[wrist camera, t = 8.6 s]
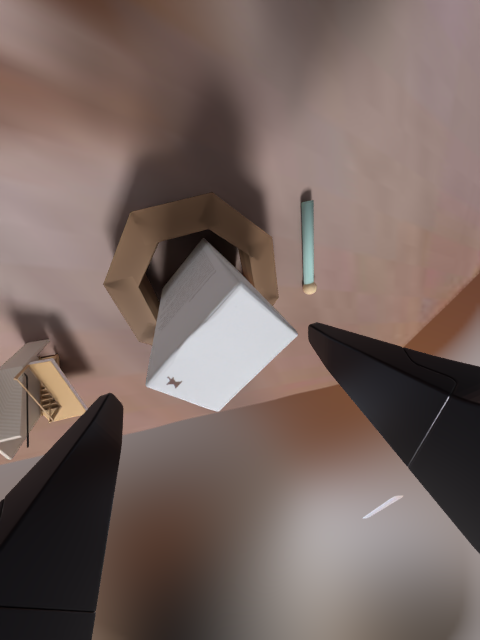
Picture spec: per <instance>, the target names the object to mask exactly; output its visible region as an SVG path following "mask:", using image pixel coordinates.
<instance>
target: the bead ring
mask: <svg viewBox="0 0 480 640" xmlns="http://www.w3.org/2000/svg"><path fill="white" fill-rule="evenodd" d="M207 229H209V230H211V231H212V232H214V233H216V234H217V235H219V236H220V237H222V238H223V239H225V240H226V241H228V242H229V243H231V244H232V245H234V246H236V247H237V248H238V250H239V255H240V260H241V265H242V270H243V274H244V277H245V278H246V279H247V280H248V281H249V282H250V283H251V284H252V286H253V287H254V288H255V289H256V290H257V291H258V292H259V293H260V294H261V295H262V296H263V297H264V298H265V299H266V300H267V301H268V302H269V303H270V304H271V305H272V306H273V305H274V303H275V302H276V301H277V299H278V298H279V296H278V287H277V278H276V269H275V260H274V250H273V241H272V237H271V236H270V235H268V234H267V233H266V232H264V231H263V230H262V229H260V228H259V227H258V226H256V225H255V224H254V223H252V222H251V221H250V220H248V219H247V218H246V217H244V216H243V215H242V214H240V213H239V212H238V211H236V210H235V209H234V208H232V207H231V206H230V205H228V204H227V203H226V202H224V201H223V200H222V199H221V198H219V197H218V196H217V195H215V194H214V193H213V192H211V193H207V194H203V195H198V196H194V197H190V198H186V199H182V200H178V201H174V202H170V203H165V204H161V205H157V206H153V207H149V208H145V209H141V210H137V211H132V212H130V214H129V217H128V220H127V222H126V225H125V228H124V230H123V233H122V236H121V238H120V241H119V244H118V246H117V249H116V252H115V254H114V257H113V260H112V262H111V265H110V268H109V270H108V273H107V276H106V278H105V281H104V284H103V285H104V286H105V288H106V290H107V291H108V293H109V294H110V296H111V298H112V299H113V301H114V302H115V304H116V306H117V307H118V309H119V310H120V312H121V314H122V315H123V317H124V318H125V320H126V322H127V323H128V325H129V326H130V328H131V330H132V331H133V333H134V334H135V336H136V338H137V339H138V341H139V342H142V343H145V344H149V345H153V339H154V333H155V328H156V323H157V317H158V311H159V305H160V302H159V300H158V298H157V296H156V294H155V292H154V290H153V288H152V286H151V284H150V282H149V280H148V278H147V275H146V271H147V268H148V266H149V264H150V261H151V259H152V257H153V255H154V252H155V250H156V248H157V246H158V243H159V242H161V241H165V240H169V239H172V238H176V237H180V236H184V235H188V234H191V233H195V232H199V231H203V230H207Z"/></svg>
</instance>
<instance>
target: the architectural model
mask: <svg viewBox="0 0 480 640" xmlns="http://www.w3.org/2000/svg"><path fill="white" fill-rule="evenodd" d="M49 342H50V340H49V339H47V340H41V341H35V342H28V343H26V344H25V345H24V346H23V347H22V348H21V349H20V350H19V351H18V352H16V353H15V354H14V355H13V356H12V357H11V358H10V359H9V360H8V361H6V362H5V363H4V364H3V365H2V366H1V367H0V454H2V455H3V456H4V457H6V458H7V459H8V460H10V459H12V458H13V457H14V455H15V454H16V452H17V451H18V449H19V448H20V446H21V445H22V443H23V442H24V440H25V439H26V437H27V447H29V433H30V431H31V430H32V428H33V427H34V425H35V424H36V422H37V421H38V419H39V418H40V416H43V415H44V416H45V417H46V418H47V419H48V420H49V422H48V423H51V422H54V421H58V420H62V419H67V418H71V417H75V416H80V415H83V414H84V413H85V412H86V410H87V409H88V408H87V407H86V405H85V404H84V402H83V401H82V399H81V398H80V396H79V395H78V394H77V392H76V391H75V389H74V388H73V386H72V385H71V383H70V382H69V381H68V379H67V378H66V376H65V375H64V373H63V372H62V370H61V369H60V365H59V357H58V354H56V355H55V356H51V357H45V358H41V357H40V356H39V358H38V356H37V354H38V353H39V352H40V351H41V350H42V349H43V348H44V347H45V346H46V345H47V344H48V343H49Z"/></svg>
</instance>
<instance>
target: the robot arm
mask: <svg viewBox="0 0 480 640" xmlns="http://www.w3.org/2000/svg"><path fill="white" fill-rule="evenodd" d="M308 338H309V342H310V344H311V346H312V347H313V349H314V350H315V352H316V353H317V355H318V356H319V358H320V359H321V361H322V362H323V364H324V365H325V367H326V368H327V370H328V371H329V372H330V373H331V375H332V376H333V377H334V378H335V379H336V381H337V382H338V383H339V384H340V386H341V387H342V388H343V389H344V390H345V392H346V393H347V394H348V395H349V396H350V398H351V399H352V400H353V401H354V402H355V404H356V405H357V406H358V407H359V408H360V410H361V411H362V412H363V413H364V415H365V416H366V417H367V418H368V419H369V421H370V422H371V423H372V424H373V426H374V427H375V428H376V429H377V430H378V431H379V433H380V434H381V435H382V436H383V438H384V439H385V440H386V441H387V443H388V444H389V445H390V446H391V447H392V449H393V450H394V451H395V452H396V453H397V455H398V456H399V457H400V458H401V459H402V461H403V462H404V463H405V464H406V466H408V468H409V469H410V471H411V472H412V473H413V474H414V475H415V477H416V478H417V479H418V480H419V482H420V483H421V484H422V485H423V486H424V488H425V489H426V490H427V491H428V492H429V493H430V495H431V496H432V497H433V499H434V500H435V501H436V502H437V503H438V505H439V506H440V507H441V508H442V509H443V511H444V512H445V513H446V514H447V515H448V517H449V518H450V519H451V520H452V522H453V523H454V524H455V525H456V526H457V528H458V529H459V530H460V531H461V532H462V534H463V535H464V536H465V537H466V539H467V540H468V541H469V542H470V543H471V545H472V546H473V547H474V548H475V549H476V550H477V551H478V552H479V553H480V367H479V366H474V365H470V364H466V363H462V362H457V361H453V360H449V359H445V358H441V357H437V356H432V355H429V354H426V353H422V352H418V351H414V350H411V349H408V348H402V347H401V346H397V345H394V344H390V343H387V342H384V341H380V340H377V339H373V338H370V337H366V336H363V335H359V334H356V333H353V332H349V331H346V330H342V329H339V328H335V327H332V326H328V325H325V324H322V323H318V322H316V323H313V324H310V325H309V326H308ZM122 429H123V405H122V404H121V402H120V401H119V400H118V399H117V398H116V397H115V396H114V395H113V394H112V393H108V394H105V395H102V396H100V397H99V398H98V399H97V400H96V401H95V402H94V403H93V404H92V405H91V406H90V407H89V408H88V409H87V410H86V412H85V413H84V414H83V415H82V416H81V417H80V418H79V419H78V420H77V421H76V422H75V423H74V424H73V425H72V426H71V427H70V429H69V430H68V431H67V432H66V433H65V434H64V435H63V436H62V437H61V438H60V439H59V440H58V441H57V442H56V443H55V444H54V445H53V447H52V448H51V449H50V450H49V451H48V452H47V453H46V454H45V455H44V456H43V457H42V458H41V459H40V460H39V461H38V462H37V463H36V465H35V466H34V467H33V468H32V469H31V470H30V471H29V472H28V473H27V474H26V475H25V476H24V477H23V478H22V479H21V481H19V483H18V484H17V485H16V486H15V487H14V488H13V489H12V490H11V491H10V492H9V493H8V494H7V495H6V497H5V499H3V500H1V502H0V640H91V639H92V633H93V627H94V620H95V611H96V606H97V599H98V593H99V587H100V581H101V574H102V568H103V562H104V555H105V549H106V542H107V536H108V530H109V523H110V517H111V510H112V504H113V498H114V492H115V485H116V479H117V472H118V466H119V459H120V453H121V446H122Z"/></svg>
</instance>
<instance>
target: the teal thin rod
mask: <svg viewBox="0 0 480 640" xmlns="http://www.w3.org/2000/svg"><path fill="white" fill-rule="evenodd" d="M301 208H302V241H303V274H304V285H303V291H304V292H305V293H306V294H313V293H314V292H315V291H316V288H317V286H316V284H315V283H314V243H313V200H311V201H306V202H302V203H301Z"/></svg>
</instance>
